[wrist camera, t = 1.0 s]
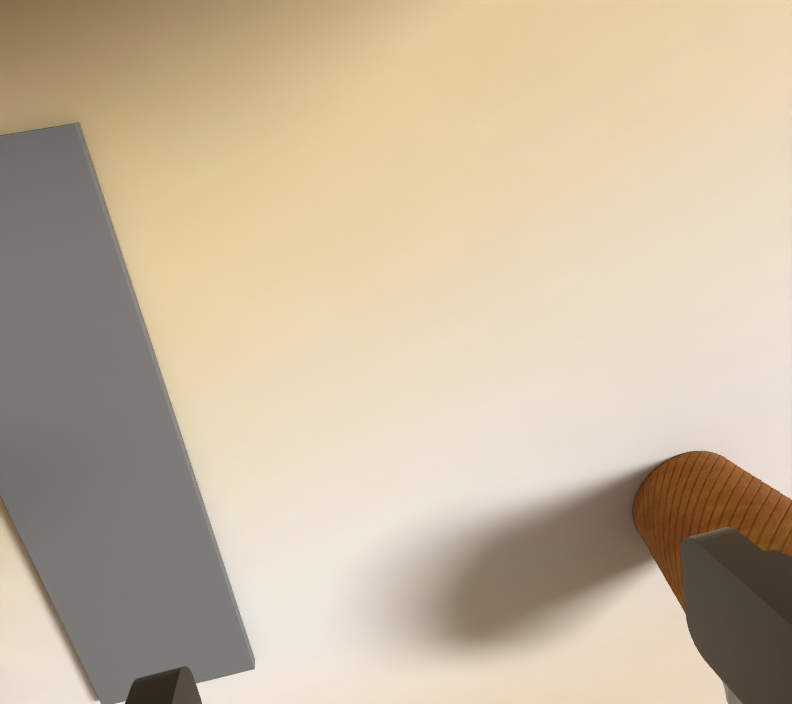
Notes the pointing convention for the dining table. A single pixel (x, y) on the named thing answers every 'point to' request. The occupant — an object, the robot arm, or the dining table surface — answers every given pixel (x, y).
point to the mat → (99, 437)
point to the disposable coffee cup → (707, 512)
